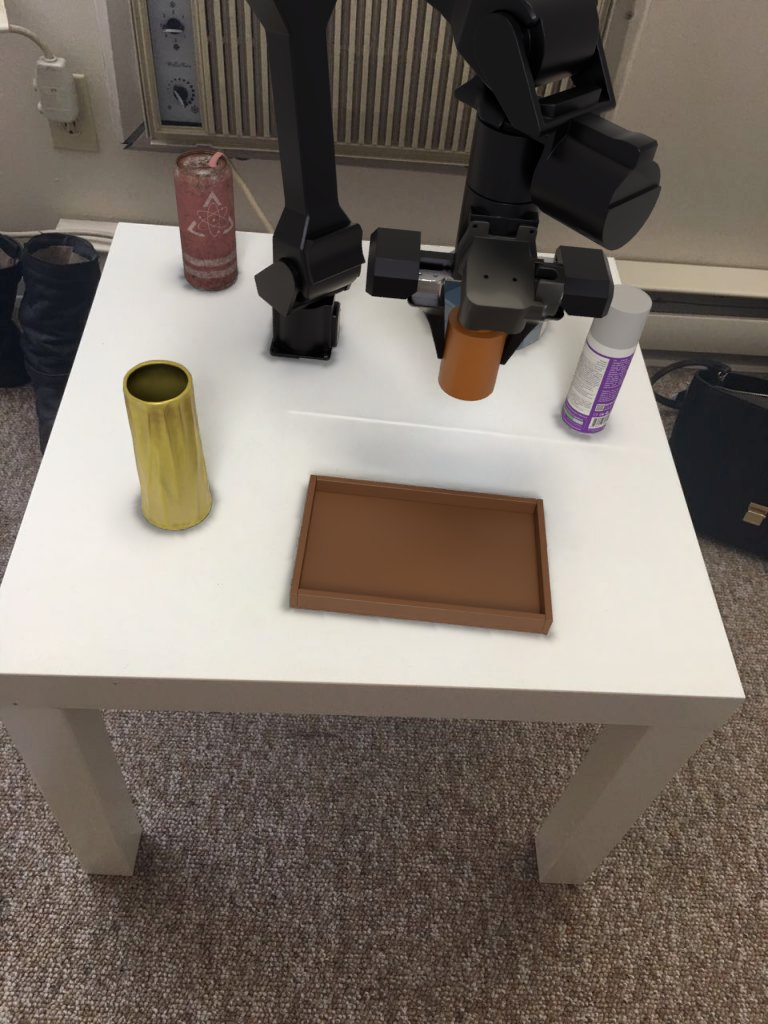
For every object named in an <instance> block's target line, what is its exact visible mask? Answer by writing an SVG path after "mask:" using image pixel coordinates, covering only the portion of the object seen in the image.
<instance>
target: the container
mask: <svg viewBox="0 0 768 1024" xmlns="http://www.w3.org/2000/svg"><path fill="white" fill-rule="evenodd" d="M652 306H653V301H652V298H651V297H650V295H648V293H646V292H645V291H644V290H643V289H641V288H639V287H636V286H633V285H629V284H623V283H617V284H614V295H613V300H612V302H611V305H610V308H609V311H608V314H607V315H606V316H605V317H603V318H592V321H591V324H590V327H589V328H588V332H587V335H586V338H585V341H584V344H583V347H582V349H581V352H580V354H579V355H580V356H579V359H578V361H577V365H576V368H575V371H574V373H573V377H572V380H571V382H570V385H569V389H568V391H567V394H566V397H565V400H564V404H563V407H562V410H561V413H560V419H561V421H562V423H563V424H564V425H565V426H566V427H567V429H569V430H571V431H573V432H574V433H577V434H581V435H586V436H587V435H589V436H590V435H596V434H599V433H601V432H602V431H604V429H605V428H606V426H607V423H608V421H609V418H610V416H611V414H612V411H613V408H614V405H615V404H616V401H617V398H618V396H619V393H620V390H621V388H622V385H623V383H624V381H625V378H626V375H627V373H628V371H629V368H630V365H631V363H632V361H633V358H634V355H635V353H636V350H637V347H638V344H639V342H640V339H641V337H642V334H643V331H644V328H645V326H646V322H647V320H648V317H649V315H650V312H651V310H652Z"/></svg>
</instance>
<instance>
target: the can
mask: <svg viewBox="0 0 768 1024" xmlns="http://www.w3.org/2000/svg"><path fill="white" fill-rule="evenodd" d="M174 161H175V163H174V165H173V166H172V174H173V183H174V192H175V202H176V210H177V219H178V220H177V221H178V230H179V239H180V247H181V256H182V257H181V258H182V266H183V274H184V278H185V280H186V281H187V282H188V283H189V285H190V286H192V287H193V288H195V289H196V290H199V291H203V292H204V291H205V292H219V291H223V290H226V289H228V288H230V287H231V286H232V285H233V284H235V281H236V280H237V279H238V275H239V272H238V271H239V270H238V268H239V267H238V251H237V249H238V248H237V233H236V232H237V231H236V230H237V229H236V214H235V213H236V211H235V195H234V194H235V193H234V177H233V175H234V174H233V168H232V166H231V164H230V163H229V159H228V158H227V157H226V156H225V154H224V153H223V152H221V151H214V150H210V149H193V150H188V151H185V152H182V153H181V154H179V155H178V156H177V157H176V159H175V160H174Z"/></svg>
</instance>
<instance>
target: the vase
mask: <svg viewBox="0 0 768 1024" xmlns="http://www.w3.org/2000/svg"><path fill="white" fill-rule="evenodd" d="M193 381H194V380H193V376H192V374H191V372H190V370H189V369H188V368H187V367H186V366H185V365H183V364H181V363H179V362H176V361H173V360H168V359H149V360H145V361H142V362H139V363H137V364H136V365H134V366H133V367H131V368H129V370H127V372H126V373H125V375H124V376H123V379H122V393H123V399H124V405H125V411H126V415H127V420H128V425H129V430H130V434H131V439H132V440H131V441H132V447H133V455H134V460H135V466H136V473H137V477H138V481H139V487H140V494H141V504H140V505H141V512H142V515H143V517H144V518H145V519H146V520H147V522H148V523H150V524H151V525H153V526H155V527H157V528H159V529H163V530H167V531H181V530H186V529H188V528H192V527H194V526H196V525H198V524H199V523H201V522H202V521H203V520H204V519H205V518H207V516H208V514H209V513H210V512H211V509H212V504H213V497H212V494H211V493H210V487H209V486H210V484H209V476H208V470H207V465H206V458H205V454H204V448H203V444H202V443H203V442H202V437H201V433H200V426H199V425H200V424H199V419H198V414H197V413H198V412H197V405H196V398H195V397H196V396H195V389H194V382H193Z"/></svg>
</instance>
